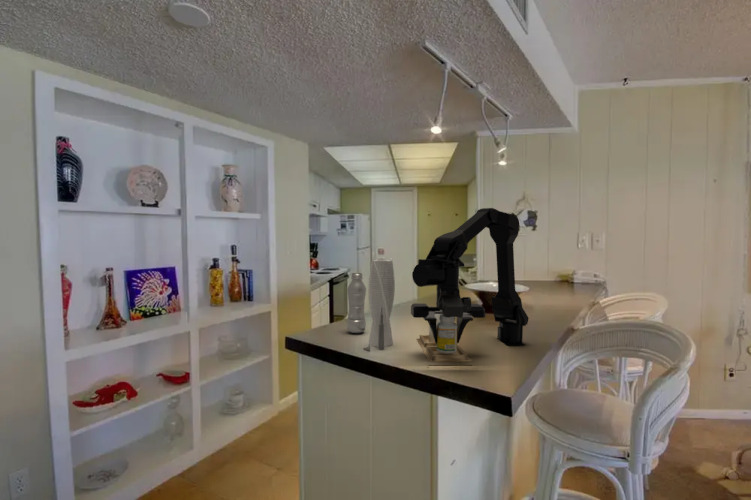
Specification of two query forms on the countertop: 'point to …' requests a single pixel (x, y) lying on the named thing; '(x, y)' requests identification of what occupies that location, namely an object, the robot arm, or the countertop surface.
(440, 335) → the supplement bottle
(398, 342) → the countertop surface
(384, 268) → the skyscraper
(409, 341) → the countertop surface
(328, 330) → the countertop surface
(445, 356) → the caddy
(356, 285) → the plastic bottle
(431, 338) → the white rounded rod
